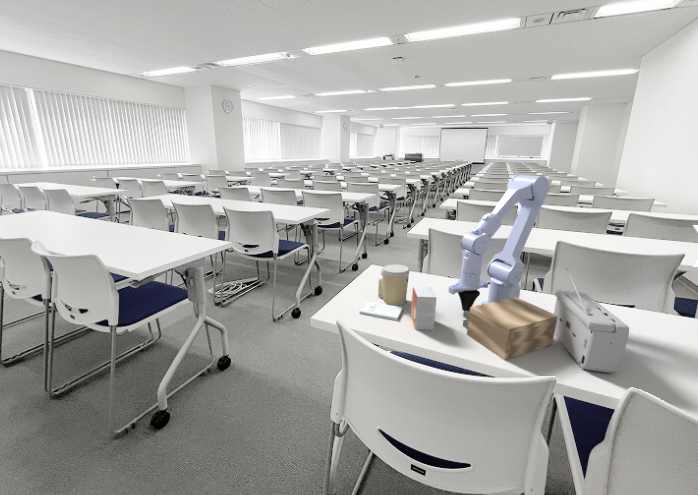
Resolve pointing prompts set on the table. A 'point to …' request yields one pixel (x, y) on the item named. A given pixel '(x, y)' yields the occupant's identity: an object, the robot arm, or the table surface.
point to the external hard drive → (381, 310)
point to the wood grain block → (511, 327)
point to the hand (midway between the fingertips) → (465, 310)
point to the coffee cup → (395, 283)
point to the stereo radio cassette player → (589, 331)
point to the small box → (423, 307)
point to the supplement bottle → (380, 286)
